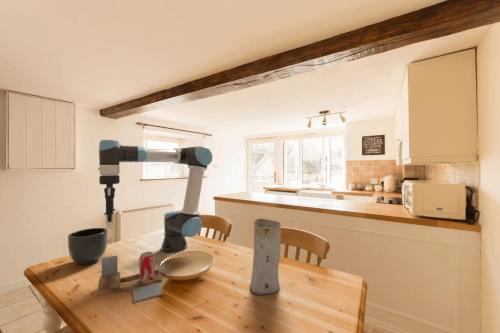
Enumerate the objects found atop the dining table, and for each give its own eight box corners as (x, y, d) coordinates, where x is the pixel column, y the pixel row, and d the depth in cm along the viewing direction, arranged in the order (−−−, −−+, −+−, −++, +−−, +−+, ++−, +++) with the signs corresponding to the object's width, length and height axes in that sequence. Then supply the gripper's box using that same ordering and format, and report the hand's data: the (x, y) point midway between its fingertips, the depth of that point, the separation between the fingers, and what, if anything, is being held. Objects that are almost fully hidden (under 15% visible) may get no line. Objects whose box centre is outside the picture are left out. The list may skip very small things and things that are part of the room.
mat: (158, 283, 96) (158, 282, 96) (161, 294, 87) (161, 293, 87) (132, 289, 91) (132, 288, 91) (133, 303, 82) (133, 301, 82)
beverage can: (148, 284, 95) (148, 257, 95) (136, 283, 96) (136, 256, 96) (157, 277, 101) (157, 251, 101) (145, 275, 102) (145, 250, 102)
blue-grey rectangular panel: (119, 273, 94) (118, 255, 93) (118, 274, 93) (118, 255, 93) (100, 277, 90) (100, 258, 90) (100, 278, 89) (100, 259, 89)
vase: (259, 301, 83) (260, 229, 82) (243, 283, 96) (244, 220, 95) (286, 292, 89) (288, 225, 89) (268, 276, 102) (270, 217, 101)
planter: (114, 258, 122) (114, 229, 122) (80, 272, 106) (79, 239, 106) (96, 253, 129) (95, 226, 129) (61, 265, 114) (60, 234, 113)
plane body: (158, 272, 106) (158, 262, 106) (161, 281, 97) (161, 270, 97) (100, 286, 94) (100, 274, 94) (97, 298, 85) (97, 285, 85)
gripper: (101, 174, 102) (101, 224, 102) (97, 176, 87) (97, 234, 87) (119, 174, 106) (120, 221, 106) (119, 175, 91) (119, 231, 91)
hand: (110, 227), depth 96 cm, fingers open, 4 cm apart
